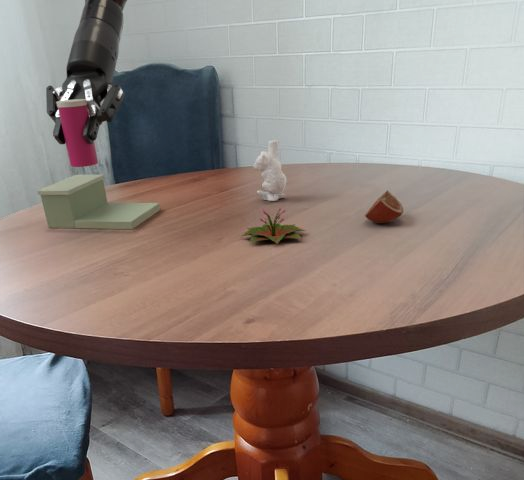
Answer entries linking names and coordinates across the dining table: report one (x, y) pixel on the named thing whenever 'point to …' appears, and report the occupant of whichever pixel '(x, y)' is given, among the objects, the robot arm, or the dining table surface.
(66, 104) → the lidded tumbler cup
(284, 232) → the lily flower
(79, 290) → the dining table surface
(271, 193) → the white bunny figurine
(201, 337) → the dining table surface
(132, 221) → the step shelf
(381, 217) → the fruit slice
